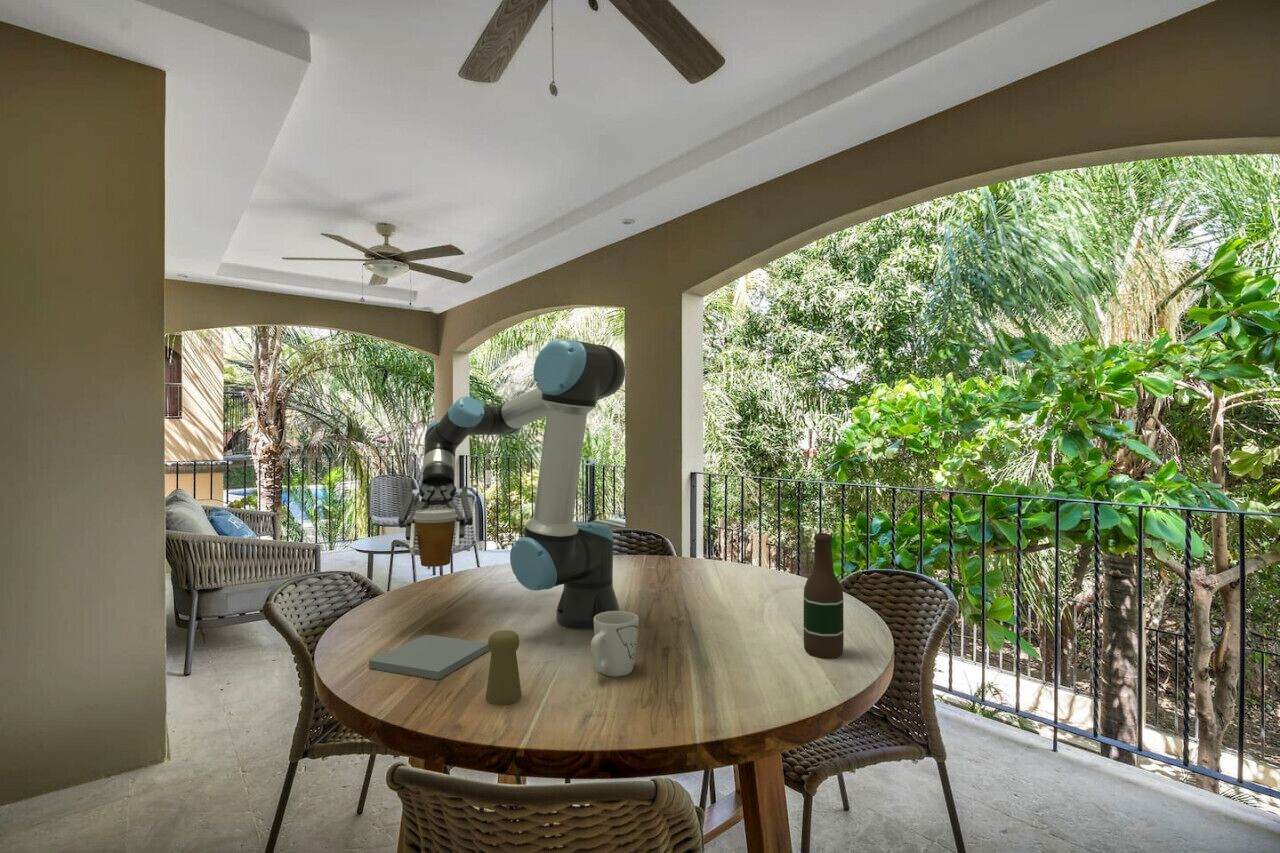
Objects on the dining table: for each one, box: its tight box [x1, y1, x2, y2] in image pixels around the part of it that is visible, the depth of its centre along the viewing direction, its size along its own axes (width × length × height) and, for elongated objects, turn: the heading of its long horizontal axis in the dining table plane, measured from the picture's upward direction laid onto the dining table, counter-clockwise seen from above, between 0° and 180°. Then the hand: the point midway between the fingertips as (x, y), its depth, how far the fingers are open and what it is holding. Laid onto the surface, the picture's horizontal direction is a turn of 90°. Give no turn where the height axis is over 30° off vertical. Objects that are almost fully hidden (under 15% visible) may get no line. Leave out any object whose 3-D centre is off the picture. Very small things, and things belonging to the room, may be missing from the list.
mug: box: [590, 610, 640, 678], centre depth 117 cm, size 11×8×10 cm
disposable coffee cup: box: [413, 508, 458, 568], centre depth 142 cm, size 10×10×12 cm
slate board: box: [368, 634, 490, 681], centre depth 124 cm, size 16×16×2 cm
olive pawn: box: [485, 629, 523, 706], centre depth 107 cm, size 6×6×11 cm
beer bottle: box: [803, 532, 845, 659], centre depth 128 cm, size 8×8×24 cm
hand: (434, 549), depth 139 cm, fingers closed on disposable coffee cup, 9 cm apart
